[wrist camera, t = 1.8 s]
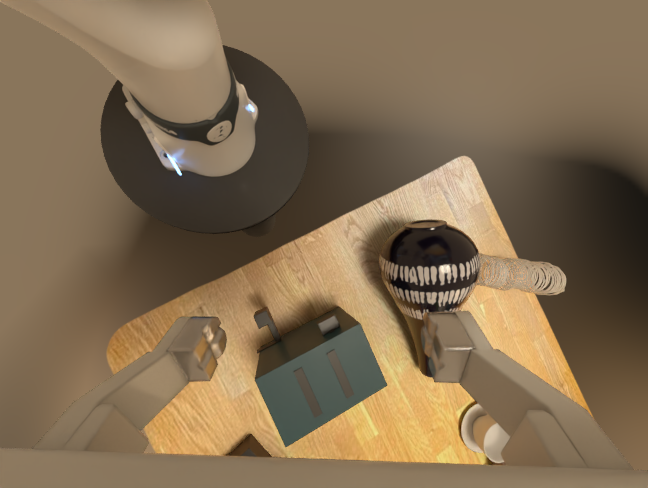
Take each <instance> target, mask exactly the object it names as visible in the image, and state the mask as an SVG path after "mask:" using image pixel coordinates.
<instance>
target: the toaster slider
mask: <svg viewBox="0 0 648 488" xmlns="http://www.w3.org/2000/svg"><path fill="white" fill-rule="evenodd" d="M254 319H255V321H256V323H257V325H258V328H259V329H260V328H262V327H264V326H266V325H268V326H269V328H270V331H271V333H272V335H273V337H274V339H275V341H278V340H280V339H281V337H280V334H279V332H278V330H277V328H276V326H275V323H274V321H273V319H272V316H271V314H270V312H269V310H268V307H265V308H263V309H261V310H258V311H256V312H255V314H254Z"/></svg>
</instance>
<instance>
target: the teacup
mask: <svg viewBox="0 0 648 488" xmlns="http://www.w3.org/2000/svg"><path fill="white" fill-rule="evenodd" d="M461 434H462V438H463V441H464V443H465V445H466V446H467V447H468V448H469V449H470V450H472V451H474V452H478V453H482V452H483V453H484V454H485V455H486V456H487V457H488V458H489V459H490V460H491V461H493V462H495V463H502V462H504V460H503V458H502V456H501V452H502V450H503V448H504V446H505V445H506V443H507V442H508V440H509V439H510V436H509V435H508V434H507V433H506V432H505V431H504V430H503V429H502V428H501V427H500V426H499V425H498V424H497V422H496V421H495V420H494V419H493V418H492V417H491V416H490V415H489V414H488V413H487V412H486V411H485V410H484V409H483V408H482V407H481V406H480V405H479V404H475V405H474V406H472V407H471V408H470V409H469V410H468V411H467V413H466V414H465V416H464V418H463V421H462V426H461Z"/></svg>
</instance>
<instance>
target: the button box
mask: <svg viewBox="0 0 648 488" xmlns="http://www.w3.org/2000/svg"><path fill="white" fill-rule="evenodd" d="M228 456H249V457H271V456H270V455H269V454H268V452H267V451H266V450H265V449H264V448H263V447H262V446H261V445H260V444H259V442H258V441H257V440H256V439H255V438H254V437H253V436H252V435H250V436H249V437H247V438H246V439H245V440H244V441H243V442H242V443H241V444H240V445H239V446H238V447H237V448H236V449H235V450H234V451H233V452H231V453H230V454H229V455H228Z"/></svg>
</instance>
